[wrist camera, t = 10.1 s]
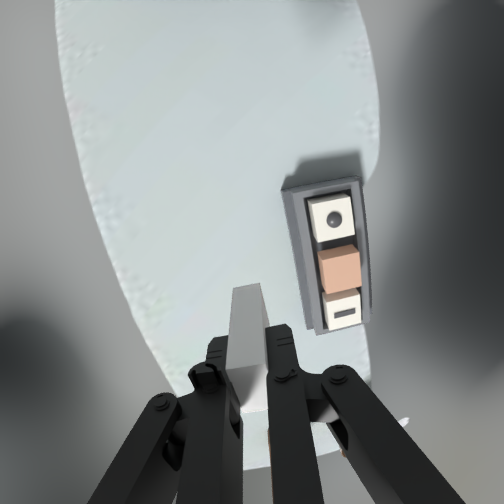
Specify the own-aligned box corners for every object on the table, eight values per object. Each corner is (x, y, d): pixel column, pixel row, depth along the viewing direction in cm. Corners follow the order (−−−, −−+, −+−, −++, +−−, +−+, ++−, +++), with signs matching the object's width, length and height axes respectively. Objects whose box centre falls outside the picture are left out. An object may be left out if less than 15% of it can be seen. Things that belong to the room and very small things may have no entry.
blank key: (317, 251, 40) (322, 260, 37) (352, 244, 40) (359, 252, 37) (321, 284, 42) (326, 294, 39) (355, 276, 42) (361, 285, 39)
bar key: (321, 292, 44) (326, 303, 41) (353, 284, 43) (360, 295, 40) (325, 319, 46) (329, 331, 43) (355, 312, 45) (361, 323, 42)
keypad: (280, 190, 41) (283, 195, 37) (356, 175, 40) (366, 179, 36) (305, 322, 49) (309, 337, 45) (368, 307, 48) (376, 320, 44)
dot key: (307, 199, 39) (311, 204, 36) (343, 192, 39) (350, 197, 36) (313, 235, 41) (318, 242, 38) (347, 227, 40) (355, 235, 37)
